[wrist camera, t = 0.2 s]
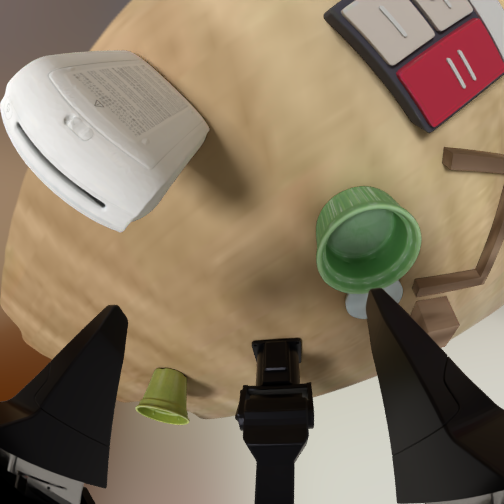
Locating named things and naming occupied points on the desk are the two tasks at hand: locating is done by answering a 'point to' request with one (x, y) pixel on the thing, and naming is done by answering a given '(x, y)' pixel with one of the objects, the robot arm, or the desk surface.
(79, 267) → the desk surface
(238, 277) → the desk surface
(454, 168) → the bay
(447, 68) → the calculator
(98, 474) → the robot arm
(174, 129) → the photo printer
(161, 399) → the plant pot
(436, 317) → the walnut block
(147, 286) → the desk surface
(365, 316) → the pale grey dome
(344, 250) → the ramekin
